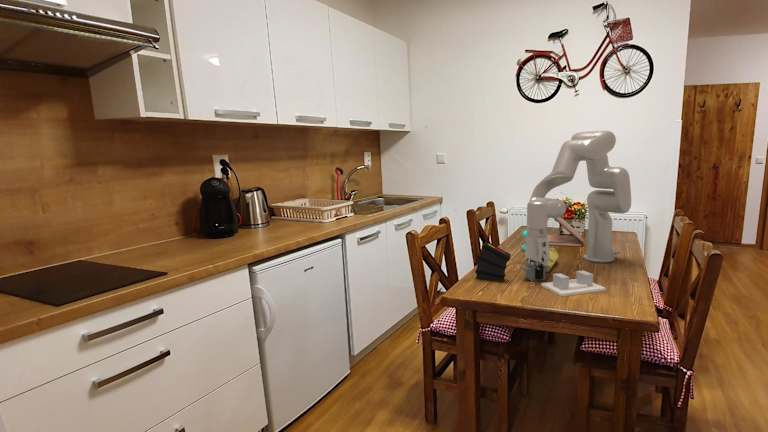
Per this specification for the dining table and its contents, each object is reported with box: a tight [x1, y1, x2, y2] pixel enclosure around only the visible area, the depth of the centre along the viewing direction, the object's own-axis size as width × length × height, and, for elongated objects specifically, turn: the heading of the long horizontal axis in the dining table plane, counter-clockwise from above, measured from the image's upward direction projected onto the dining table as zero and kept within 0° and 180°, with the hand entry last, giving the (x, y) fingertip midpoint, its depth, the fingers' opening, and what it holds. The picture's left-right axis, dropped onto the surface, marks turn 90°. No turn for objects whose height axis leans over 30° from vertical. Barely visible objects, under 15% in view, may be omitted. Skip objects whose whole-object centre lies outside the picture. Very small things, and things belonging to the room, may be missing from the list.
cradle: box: [540, 270, 606, 297], centre depth 152 cm, size 18×12×5 cm, turn 103°
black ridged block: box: [474, 241, 512, 282], centre depth 165 cm, size 4×13×15 cm, turn 64°
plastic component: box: [523, 246, 559, 273], centre depth 182 cm, size 20×7×10 cm
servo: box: [520, 262, 552, 282], centre depth 164 cm, size 11×4×7 cm, turn 103°
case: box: [547, 216, 585, 247], centre depth 223 cm, size 20×21×16 cm
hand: (535, 276), depth 164 cm, fingers closed on servo, 4 cm apart
